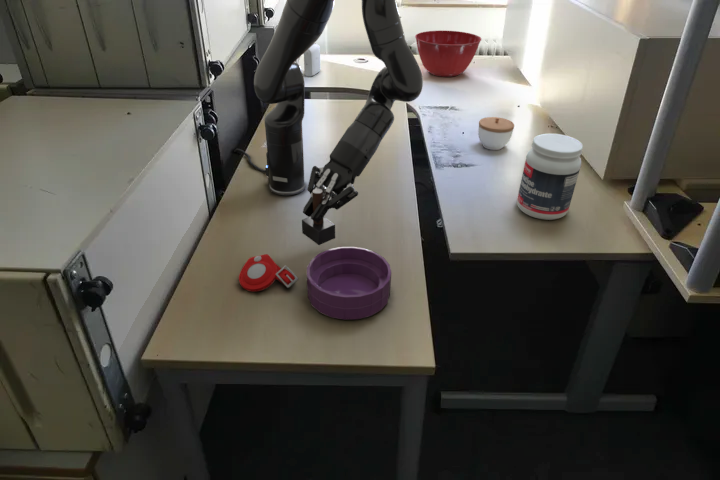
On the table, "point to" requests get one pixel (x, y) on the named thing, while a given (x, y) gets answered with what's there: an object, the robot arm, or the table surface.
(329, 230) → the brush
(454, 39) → the mixing bowl
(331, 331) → the table surface
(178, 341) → the table surface
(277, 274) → the tracker holder
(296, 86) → the robot arm
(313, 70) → the photo printer
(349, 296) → the bowl
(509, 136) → the trinket box
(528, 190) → the supplement tub
